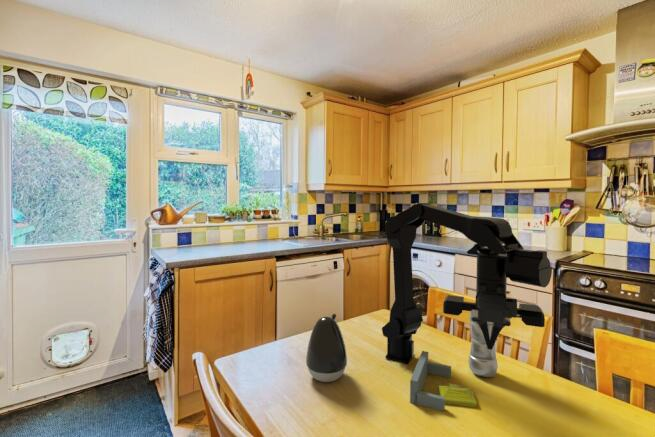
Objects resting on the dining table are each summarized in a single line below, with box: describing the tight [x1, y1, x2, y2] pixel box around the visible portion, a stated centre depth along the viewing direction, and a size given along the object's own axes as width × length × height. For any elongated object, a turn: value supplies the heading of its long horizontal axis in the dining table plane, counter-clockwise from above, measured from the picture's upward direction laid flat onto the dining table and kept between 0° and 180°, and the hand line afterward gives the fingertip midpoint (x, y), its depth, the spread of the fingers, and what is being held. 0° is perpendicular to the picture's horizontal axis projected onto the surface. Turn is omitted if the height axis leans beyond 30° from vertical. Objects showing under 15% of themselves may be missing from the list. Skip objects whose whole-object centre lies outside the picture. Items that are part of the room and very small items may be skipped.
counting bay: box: [409, 350, 452, 412], centre depth 75 cm, size 7×15×5 cm, turn 154°
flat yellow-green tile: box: [437, 383, 478, 408], centre depth 72 cm, size 10×9×3 cm
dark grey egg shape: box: [305, 313, 348, 383], centre depth 80 cm, size 10×10×15 cm
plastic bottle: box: [467, 299, 499, 378], centre depth 81 cm, size 6×7×20 cm
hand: (489, 348), depth 69 cm, fingers closed
